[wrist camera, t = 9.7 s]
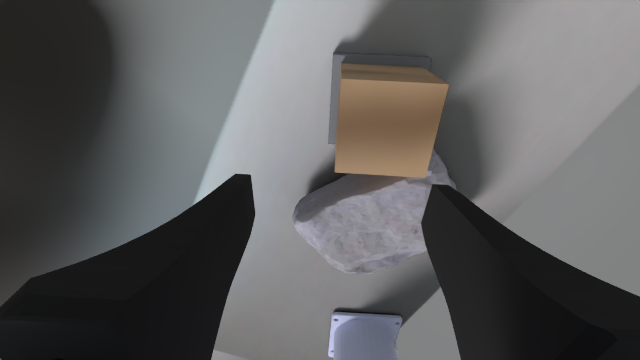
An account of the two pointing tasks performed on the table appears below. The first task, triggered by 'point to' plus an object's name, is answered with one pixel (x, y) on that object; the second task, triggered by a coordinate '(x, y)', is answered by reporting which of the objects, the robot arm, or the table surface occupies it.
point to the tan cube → (387, 119)
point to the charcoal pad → (364, 59)
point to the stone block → (369, 218)
